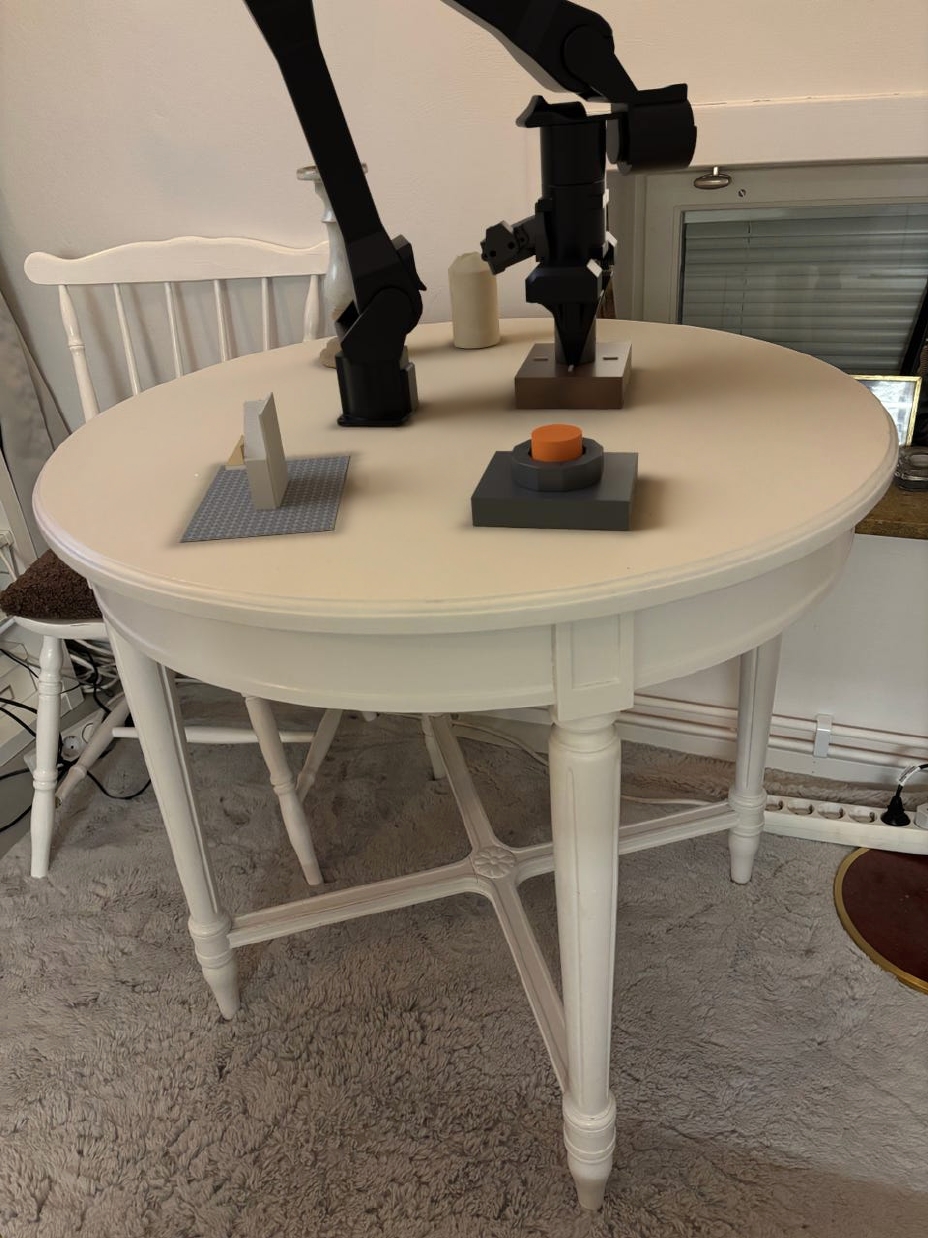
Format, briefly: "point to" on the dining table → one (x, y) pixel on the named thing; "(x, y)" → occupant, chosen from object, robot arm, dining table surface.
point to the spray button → (556, 443)
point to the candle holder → (331, 262)
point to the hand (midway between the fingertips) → (576, 358)
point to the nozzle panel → (574, 379)
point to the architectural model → (268, 486)
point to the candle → (473, 302)
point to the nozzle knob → (589, 349)
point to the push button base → (557, 490)
